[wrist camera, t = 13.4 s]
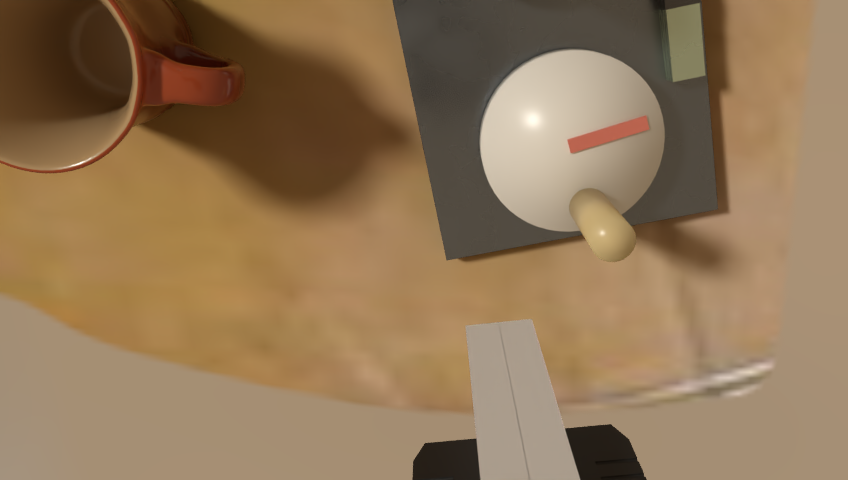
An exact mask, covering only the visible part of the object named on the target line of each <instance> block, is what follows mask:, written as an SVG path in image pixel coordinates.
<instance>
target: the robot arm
mask: <svg viewBox="0 0 848 480" xmlns="http://www.w3.org/2000/svg"><path fill="white" fill-rule="evenodd" d="M466 335H467V345H468V356H469V366H470V376H471V387H472V397H473V408H474V418H475V428H476V439H468V440H456V441H446V442H434V443H425V444H424V446H423V447H422V449H421V450H420V452H419V453H418V455H417V456H416V458H415V459H414V461H413V480H646V477H644V473H643V470H642V468H641V466H640V464H639V462H638V461H637V457H636V455H635V452H634V450H633V448H632V445H631V443H630V441H629V439H628V438H626V437H625V436H624V435H623V434H622V433H621V432H619V431H618V430H617V429H616V428H615V427H613V426H612V425H611V424H609V425H598V426H588V427H577V428H564V424H563V421H562V418H561V414H560V411H559V408H558V404H557V401H556V398H555V394H554V391H553V388H552V385H551V381H550V378H549V375H548V371H547V368H546V365H545V361H544V358H543V355H542V351H541V348H540V345H539V341H538V338H537V335H536V332H535V328H534V325H533V322H532V319H527V320H517V321H507V322H497V323H487V324H477V325H467V326H466Z"/></svg>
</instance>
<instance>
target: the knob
mask: <svg viewBox="0 0 848 480" xmlns="http://www.w3.org/2000/svg"><path fill="white" fill-rule="evenodd" d="M664 142H665V129H664V122H663V116H662V113H661V109H660V106H659V103H658V101H657V99H656V97H655V95H654V93H653V92H652V90H651V88H650V87H649V85H648V84H647V83H646V82H645V80H644V79H643V78H642V77H641V76H640V75H639V74H638V73H637V72H636V71H634V70H633V69H632V68H631V67H629V66H628V65H626V64H625V63H623V62H621V61H619V60H617V59H615V58H613V57H611V56H608V55H605V54H602V53H599V52H595V51H592V50H585V49H570V48H568V49H560V50H554V51H550V52H546V53H543V54H540V55H538V56H535V57H533V58H531V59H529V60H528V61H526V62H524V63H522V64H521V65H520V66H518V67H517V68H516V69H514V70H513V71H512V72H511V73H510V74H509V75H508V76H506V77H505V78H504V80H503V81H502V82H501V83H500V84H499V86H498V87H497V88H496V90H495V91H494V93H493V94H492V96H491V98H490V100H489V102H488V104H487V106H486V108H485V111H484V114H483V118H482V122H481V127H480V138H479V145H480V155H481V159H482V164H483V167H484V171H485V174H486V176H487V179H488V182H489V184H490V186H491V188H492V189H493V191H494V193H495V194H496V196H497V197H498V198H499V200H500V201H501V202H502V203H503V204H504V205H505V206H506V207H507V208H508V210H510V211H511V212H512V213H514V214H515V215H516V216H517V217H519V218H521V219H522V220H524V221H526V222H528V223H530V224H532V225H535V226H537V227H540V228H544V229H547V230H554V231H566V232H572V231H581V233H582V234H583V236H584V238H585V239H586V241H587V242H588V244H589V246H590V247H591V249H592V250H593V252H594V254H595V255H596V256H597V257H598V258H600V259H601V260H603V261H607V262H617V261H620V260H623V259H624V258H626V257H627V256H629V255H630V254H631V252H632V251H633V249H634V247H635V244H636V234H635V232H634V230H633V228H632V227H631V226H630V224H629V223H628V222H627V221H626V220H625V218H624V217H623V216H622V214H623V213H625V212H626V211H627V210H628V209H630V208H631V207H632V206H633V205H634V204H635V203H636V202H637V201H638V200H639V199H640V198H641V197H642V196H643V195H644V193H645V192H646V190H647V189H648V188H649V186H650V185H651V183H652V181H653V179H654V177H655V176H656V173H657V171H658V168H659V166H660V163H661V159H662V155H663V150H664Z"/></svg>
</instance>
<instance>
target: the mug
mask: <svg viewBox="0 0 848 480" xmlns="http://www.w3.org/2000/svg"><path fill="white" fill-rule="evenodd" d="M244 87H245V71H244V69H243V67H242V66H241V65H240V64H239V63H238V62H235V61H233V60H230V59H227V58H224V57H220V56H217V55H214V54H211V53H209V52H207V51H205V50H203V49H201V48H199V47H196V46H194V45H193V37H192V33H191V30H190V28H189V26H188V24H187V22H186V20H185V19H184V17H183V15H182V14H181V12H180V11H179V10H178V8H177V7H176V6H175V4H174V3H173V2H172V1H171V0H0V163H3V164H5V165H8V166H10V167H13V168H17V169H20V170H25V171H30V172H37V173H61V172H68V171H73V170H77V169H80V168H83V167H85V166H88V165H90V164H92V163H94V162H96V161H98V160H100V159H101V158H103V157H104V156H105V155H107V154H108V153H109V152H111V151H112V150H113V149H114V148H115V147H116V146H117V145H118V144H119V143H120V142H121V141H122V140H123V139H124V137H125V136H126V135H127V134H128V132H129V131H130V129H131V128H132V127H133V126H136V125H138V124H142V123H145V122H148V121H150V120H153V119H154V118H156V117H158V116H160V115H161V114H162V113H164V112H165V111H166V110H168V109H170V108H171V107H172V106H173V105H174V104H175V103H181V104H190V105H200V106H223V105H229V104H232V103H234V102H236V101H237V100H239V99H240V98H241V96H242V95H243V92H244Z"/></svg>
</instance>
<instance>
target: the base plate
mask: <svg viewBox="0 0 848 480" xmlns="http://www.w3.org/2000/svg"><path fill="white" fill-rule="evenodd" d="M393 5H394V10H395V15H396V19H397V24H398V29H399V34H400V39H401V43H402V48H403V53H404V58H405V63H406V67H407V72H408V77H409V82H410V87H411V91H412V96H413V101H414V106H415V111H416V115H417V120H418V125H419V130H420V135H421V139H422V144H423V149H424V154H425V159H426V163H427V168H428V173H429V178H430V183H431V187H432V192H433V197H434V202H435V207H436V211H437V216H438V221H439V226H440V231H441V235H442V240H443V245H444V250H445V255H446V259H447V260H451V259H456V258H462V257H467V256H472V255H478V254H483V253H488V252H494V251H499V250H504V249H510V248H515V247H520V246H526V245H531V244H536V243H541V242H547V241H552V240H557V239H563V238H568V237H573V236H579V235H583V234H582V233H581V231H572V232H566V231H554V230H547V229H544V228H540V227H537V226H535V225H532V224H530V223H528V222H526V221H524V220H522V219H521V218H519V217H517V216H516V215H515V214H514V213H512V212H511V211H510V210H508V208H507V207H506V206H505V205H504V204H503V203H502V202H501V201H500V200H499V198H498V197H497V196H496V194H495V193H494V191H493V189H492V188H491V186H490V184H489V182H488V179H487V176H486V174H485V171H484V167H483V164H482V159H481V155H480V145H479V138H480V127H481V122H482V118H483V114H484V111H485V108H486V106H487V104H488V102H489V100H490V98H491V96H492V94H493V93H494V91H495V90H496V88H497V87H498V86H499V84H500V83H501V82H502V81H503V80H504V78H505V77H506V76H508V75H509V74H510V73H511V72H512V71H513V70H514V69H516V68H517V67H518V66H520V65H521V64H522V63H524V62H526V61H528V60H529V59H531V58H533V57H535V56H538V55H540V54H543V53H546V52H550V51H554V50H560V49H568V48H570V49H585V50H592V51H595V52H599V53H602V54H605V55H608V56H611V57H613V58H615V59H617V60H619V61H621V62H623V63H625V64H626V65H628V66H629V67H631V68H632V69H633V70H634V71H636V72H637V73H638V74H639V75H640V76H641V77H642V78H643V79H644V80H645V82H646V83H647V84H648V85H649V87H650V88H651V90H652V92H653V93H654V95H655V97H656V99H657V101H658V103H659V106H660V109H661V113H662V116H663V122H664V129H665V142H664V150H663V155H662V159H661V163H660V166H659V168H658V171H657V173H656V176H655V177H654V179H653V181H652V183H651V185H650V186H649V188H648V189H647V190H646V192H645V193H644V195H643V196H642V197H641V198H640V199H639V200H638V201H637V202H636V203H635V204H634V205H633V206H632V207H631V208H630V209H628V210H627V211H626V212H625V213H623V214H622V216H623V217H624V218H625V220H626V221H627V222H628V223H629V224H630V226H632V225H637V224H643V223H648V222H653V221H658V220H664V219H669V218H674V217H680V216H685V215H690V214H696V213H701V212H706V211H712V210H717V209H718V204H717V192H716V179H715V166H714V154H713V141H712V129H711V116H710V103H709V91H708V78H707V65H706V53H705V40H704V28H703V15H702V2H701V0H393Z"/></svg>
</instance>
